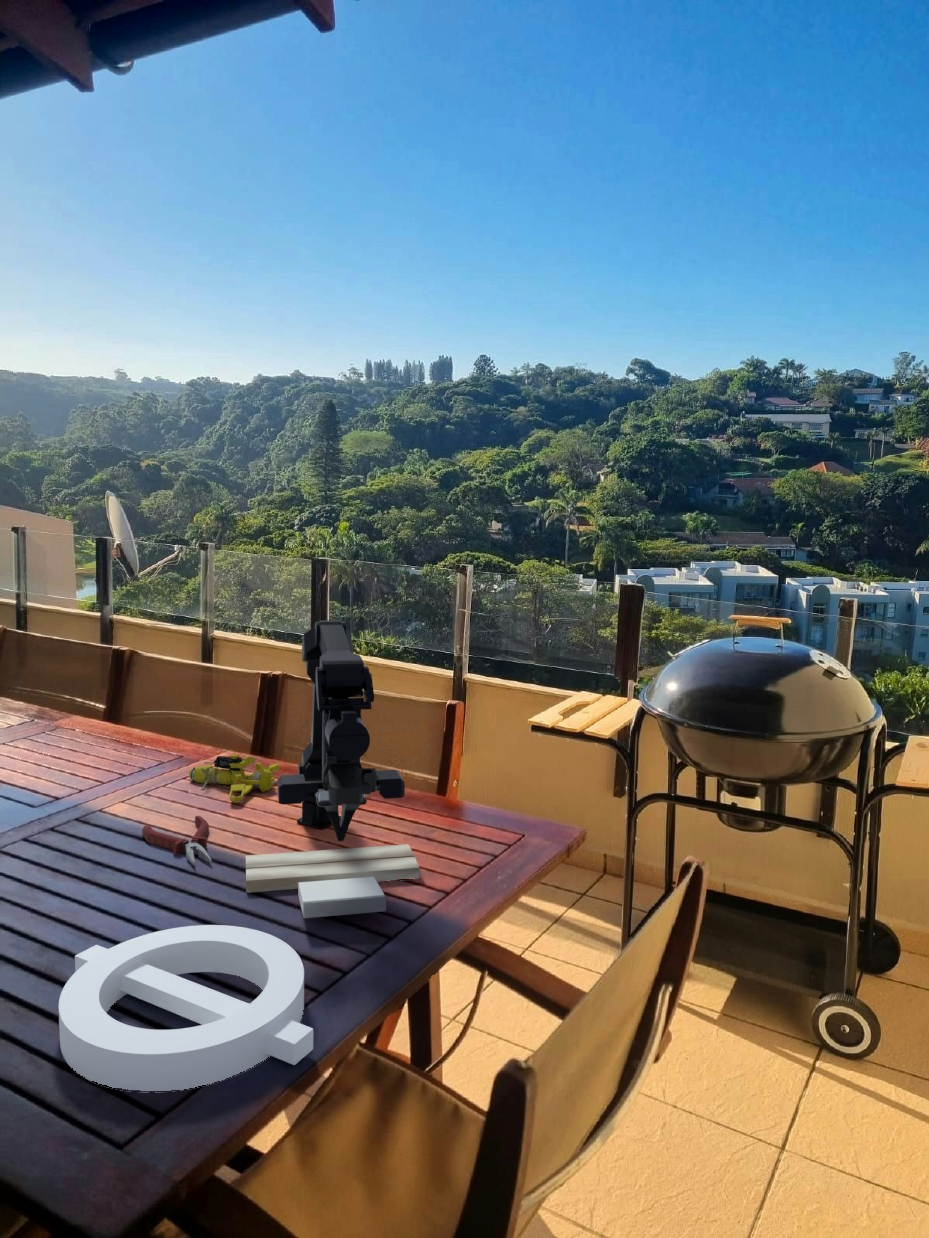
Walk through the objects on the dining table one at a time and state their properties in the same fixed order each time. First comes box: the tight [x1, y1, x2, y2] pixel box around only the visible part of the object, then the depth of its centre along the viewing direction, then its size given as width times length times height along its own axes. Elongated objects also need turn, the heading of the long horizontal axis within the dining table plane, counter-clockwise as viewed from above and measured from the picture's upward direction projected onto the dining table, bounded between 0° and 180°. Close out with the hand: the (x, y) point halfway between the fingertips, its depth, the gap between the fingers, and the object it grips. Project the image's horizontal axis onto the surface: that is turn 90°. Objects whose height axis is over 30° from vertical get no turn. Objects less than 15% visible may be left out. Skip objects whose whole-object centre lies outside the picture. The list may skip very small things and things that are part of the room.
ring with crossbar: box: [58, 924, 314, 1091], centre depth 107 cm, size 28×28×5 cm
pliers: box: [141, 815, 213, 867], centre depth 157 cm, size 12×20×3 cm, turn 33°
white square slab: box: [297, 877, 387, 919], centre depth 135 cm, size 2×12×12 cm
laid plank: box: [245, 843, 421, 894], centre depth 148 cm, size 10×28×2 cm, turn 104°
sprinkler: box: [188, 753, 280, 803], centre depth 188 cm, size 19×8×20 cm
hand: (340, 840), depth 134 cm, fingers closed
